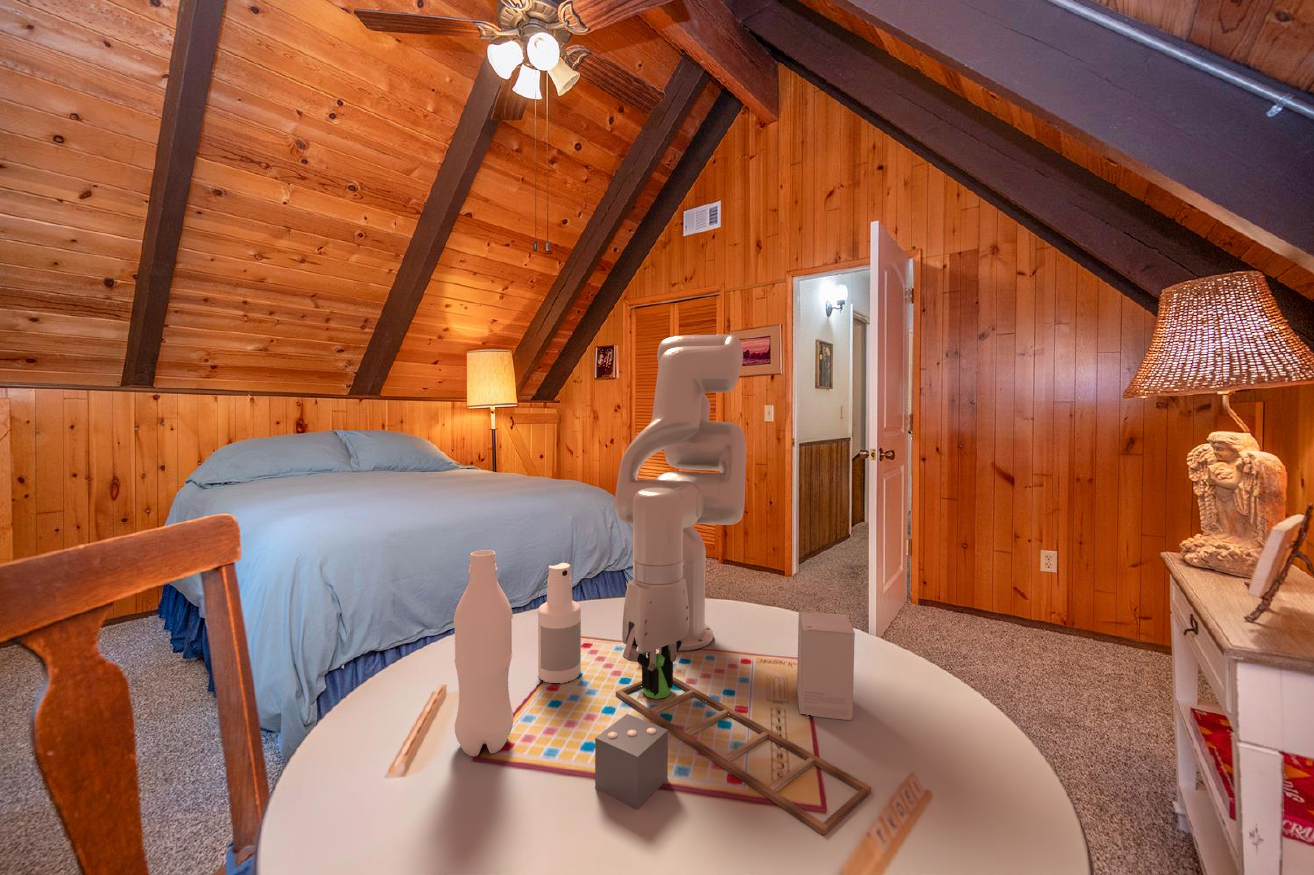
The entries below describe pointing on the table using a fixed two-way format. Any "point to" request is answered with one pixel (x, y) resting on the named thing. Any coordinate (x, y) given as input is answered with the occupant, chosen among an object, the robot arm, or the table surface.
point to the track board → (764, 734)
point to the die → (631, 760)
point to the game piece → (663, 686)
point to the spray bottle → (559, 629)
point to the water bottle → (483, 659)
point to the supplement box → (825, 665)
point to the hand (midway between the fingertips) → (657, 687)
